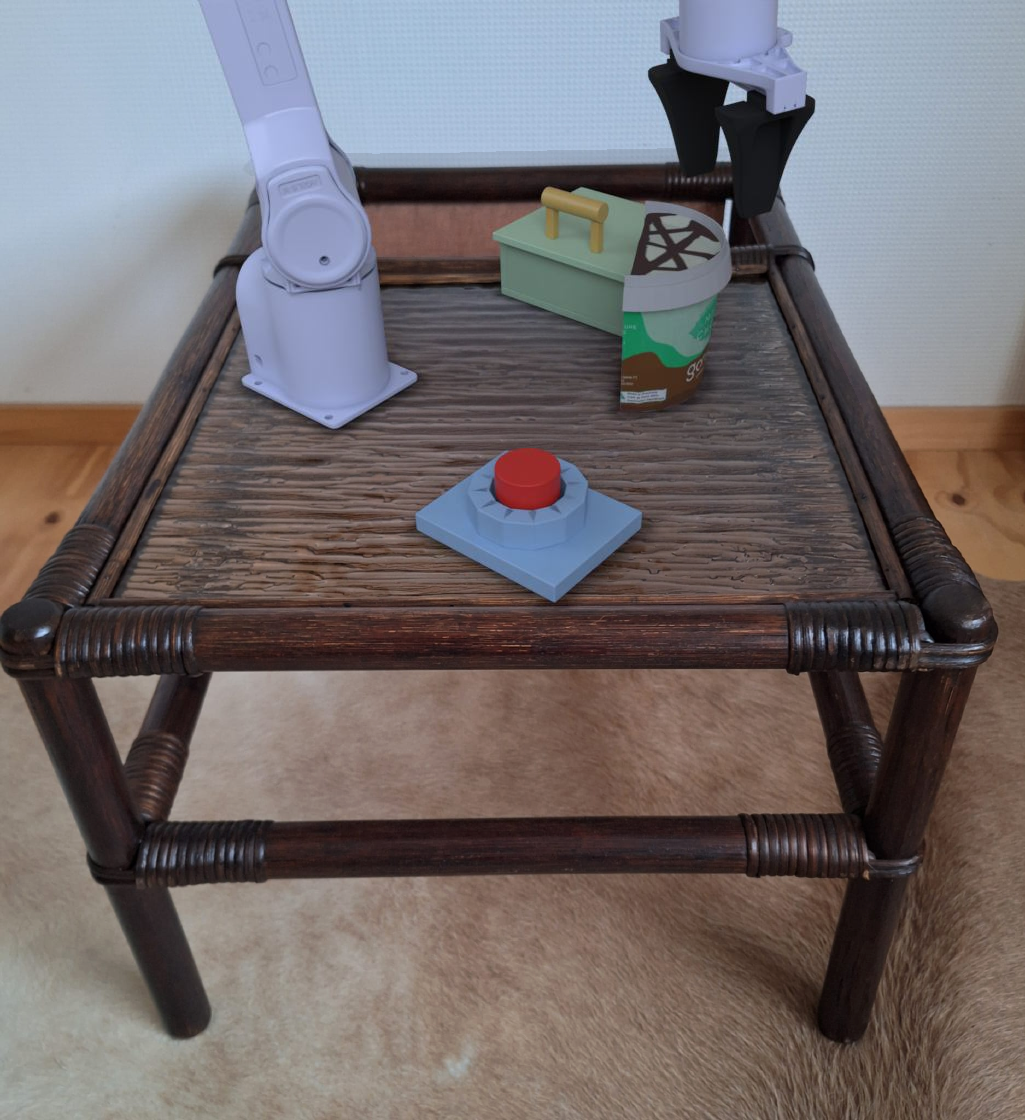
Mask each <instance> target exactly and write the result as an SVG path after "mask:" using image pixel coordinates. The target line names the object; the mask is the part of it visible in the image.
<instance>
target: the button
mask: <svg viewBox="0 0 1025 1120" xmlns="http://www.w3.org/2000/svg"><path fill="white" fill-rule="evenodd" d="M508 451H509V452H507V453H505V454H504V455H502V456H501V457H500V458H499V459H498V460H497V461H496V463H495V467H494V473H495V494H496V497H497V499H498V500H499V502H500V503H502V504H503V505H504V506H506V507H508V508H510V509H520V510H532V511H533V510H537V509H541V508H545V507H549V506H551V505H552V504H554V503H555V502H556V501H557V499H558V498H559V496H560V492H561V466H560V462H559V461H558V459H557V458H558V457H557V456H555V455H554V454H552V453H551V452H549V451H546V450H545V449H541V448H535V447H523V448H516V449H513V450H508ZM556 457H557V458H556Z"/></svg>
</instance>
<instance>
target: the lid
mask: <svg viewBox="0 0 1025 1120" xmlns="http://www.w3.org/2000/svg"><path fill="white" fill-rule="evenodd" d="M540 203H541V205H542V206H541V207H540V208H538V209H535V210H534V211H532V212H530V213H528V214H526V215H524V216H522V217H520V218H518V219H516V220H514V221H512V222H510V223H508V224H506V225H504V226H503V227H501V228H499V229H497V230H495V231H493V232H492V234H491V235H492V241H494V242H498V243H500V242H501V243H504V244H507V245H510V246H513V247H516V248H519V249H522V250H525V251H528V252H531V253H534V254H537V255H540V256H543V257H546V258H549V259H552V260H555V261H559V262H562V263H565V264H568V265H571V266H574V267H577V268H580V269H583V270H586V271H589V272H592V273H595V274H598V275H601V276H604V277H607V278H610V279H613V280H616V281H619V282H622V283H625V275H630V274H631V271H632V267H633V263H634V259H635V255H636V250H637V246H638V242H639V240H640V237H641V234H642V230H643V227H644V216H645V203H644V204H643V203H640V202H636V201H633V200H629V199H626V198H622V197H619V196H615V195H611V194H608V193H604V192H601V191H597V190H594V189H590V188H586V187H582V186H580V187H579V188H576V189H575V190H573V191H571V192H569V191H566V190H562V189H560V188H555V187H552V186H547V187H545V188H544V189H543V191H542V193H541V197H540Z"/></svg>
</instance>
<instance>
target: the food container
mask: <svg viewBox="0 0 1025 1120" xmlns="http://www.w3.org/2000/svg"><path fill="white" fill-rule="evenodd" d="M644 205H645V216H644V227H643V230H642V234H641V237H640V240H639V242H638V246H637V250H636V255H635V259H634V263H633V267H632V271H631V274H630V275H625V283H624V293H623V308H622V311H623V337H622V340H621V341H622V345H621V372H620V401H619V403H620V404H619V413H634V414H639V413H640V414H641V413H648V412H657V411H663V410H665V409H669V408H672V407H675V406H678V405H681V404H683V403H684V402H686V401H688V400H689V399H690V398H692V397H694V396H695V395H696V393H697V392H698V390H700V388H701V385H702V381H703V376H704V372H705V365H706V360H707V355H708V349H709V345H710V339H711V333H712V328H713V323H714V317H715V313H716V306H717V301H718V296H719V293H720V292H721V291H722V290H723V289H724V288H725V287H726V286H727V285H728V284H729V282H730V281H731V278H732V275H733V266H732V257H731V247H730V243H729V241H728V239H727V235H726V232H725V230H724V229H723V227H722V226H721V225H720V223H718V222H717V221H716V220H714V219H713V218H711V217H710V216H709V215H706V214H705V213H702V212H700V211H698V210H696V209H693V208H689V207H686V206H683V205H679V204H674V203H670V202H662V201H656V200H655V201H654V200H653V201H652V200H645V203H644Z"/></svg>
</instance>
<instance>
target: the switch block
mask: <svg viewBox="0 0 1025 1120" xmlns="http://www.w3.org/2000/svg"><path fill="white" fill-rule="evenodd" d="M509 451H510V450H504V451H502V452H501V453H500V454H498V455H497V456H495V457H494V458H493V459H491V460H490V461H488V462H487V463H486V464H484V465H482V466H481V467H479V468H478V469H477V470H475V471H474V472H473V473H471V474H469V475H468V476H467V477H465V478H464V479H463V480H461V481H460V482H458V483H457V484H455V485H454V486H453V487H451V488H449V489H448V490H447V491H445V492H444V493H443V494H441V495H440V496H438V497H437V498H435V499H433V500H432V502H430V503H429V504H427V505H426V506H424V507H423V508H421V509H420V510H418V511H417V512H416V513H414V514H415V515H414V516H415V526H416V530H417V531H418V532H419V533H422V534H424V535H426V536H428V537H429V538H431V539H434V540H435V541H436V542H439V543H440V544H443V545H445V546H447V547H448V548H450V549H452V550H454V551H456V552H458V553H460V554H462V555H463V556H465V557H467V558H470V559H471V560H473V561H475V562H477V563H478V564H480V565H482V566H484V567H486V568H488V569H490V570H492V571H494V572H495V573H497V574H500V575H501V576H503V577H505V578H507V579H509V580H511V581H512V582H514V583H515V584H518V585H519V586H522V587H524V588H526V589H527V590H529V591H531V592H533V593H535V594H536V595H539V596H541V597H542V598H544V599H546V600H548V601H550V602H552V603H554V604H555V603H556V602H558V601H559V600H560V599H561V598H562V597H563V596H564V595H566V594H567V593H568V592H569V591H570V590H571V589H573V588H574V587H576V585H577V584H579V582H581V581H582V580H583V579H584V578H586V577H587V575H589V574H590V573H591V572H592V571H594V570H595V569H596V568H597V567H598V566H599V565H601V564H602V563H603V562H604V561H605V560H606V559H607V558H609V557H610V556H611V555H612V554H613V553H614V552H615V551H616V550H618V549H619V548H620V547H622V545H624V544H625V543H626V542H627V541H628V540H629V539H630V538H631V537H633V536H634V535H635V534H637V532H639V531H640V530H641V529H642V523H643V522H642V521H643V512H642V511H641V510H639V509H637V508H634V507H632V506H630V505H628V504H626V503H624V502H621V501H619V500H617V499H614V498H612V497H611V496H608V495H606V494H604V493H602V492H599V491H597V490H594V489H592V488H590V487H589V482H588V480H587V478H586V477H585V476H584V474H583V473H582V472H581V470H580V469H579V468H578V466H577V465H575V464H573V463H570V462H569V461H567V460H564V459H562V458H560V457H557V456H555V457H556V458H557V459H558V461H559V462H560V466H561V492H560V496H559V498H558V499H557V501H556V502H555V503H554V504H552V505H551V506H549V507H545V508H541V509H537V510H533V511H532V510H520V509H510V508H508V507H506V506H504V505H503V504H502V503H500V502H499V500H498V499H497V497H496V494H495V473H494V467H495V463H496V461H497V460H498V459H499V458H500V457H501V456H502V455H504V454H505V453H507V452H509Z"/></svg>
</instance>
